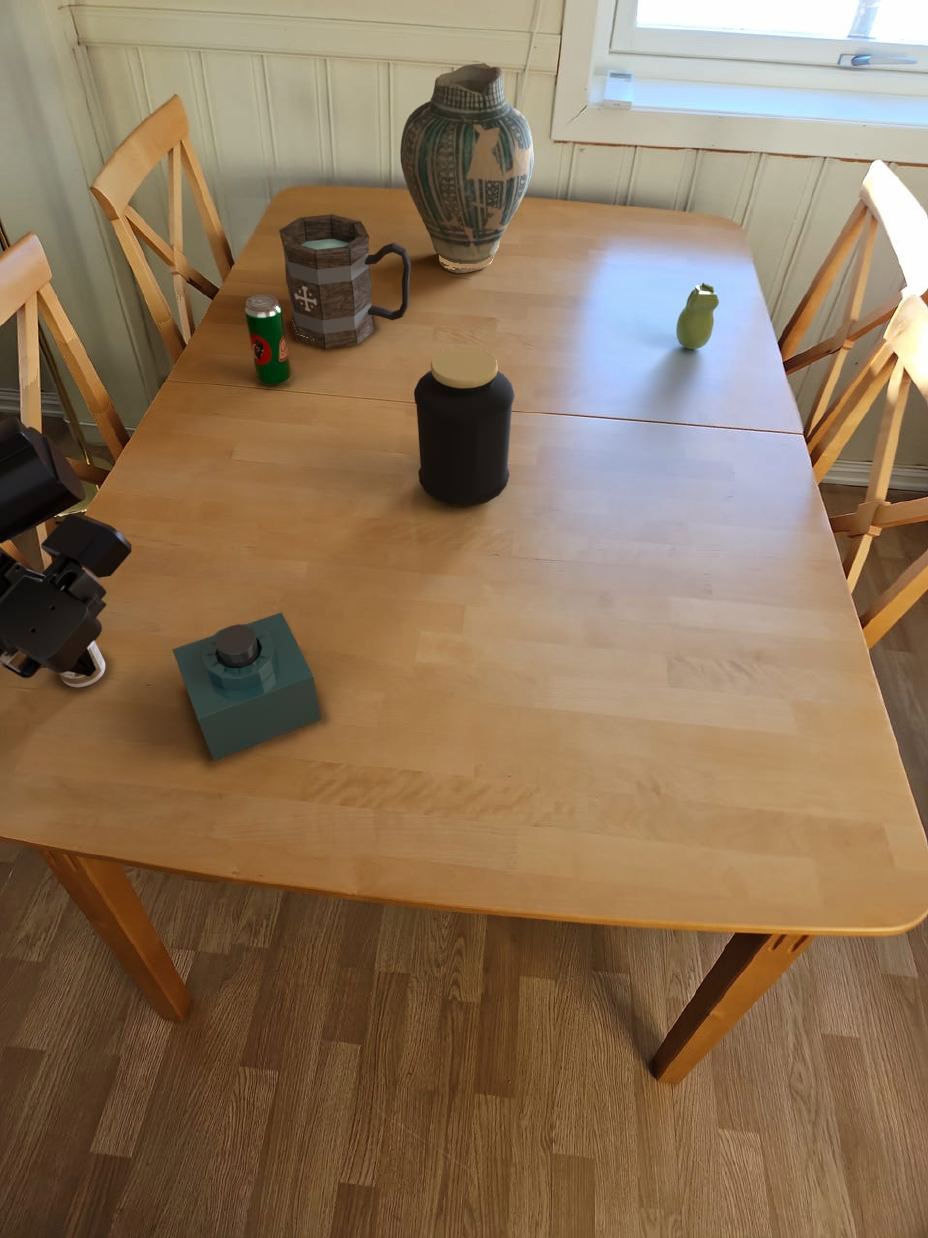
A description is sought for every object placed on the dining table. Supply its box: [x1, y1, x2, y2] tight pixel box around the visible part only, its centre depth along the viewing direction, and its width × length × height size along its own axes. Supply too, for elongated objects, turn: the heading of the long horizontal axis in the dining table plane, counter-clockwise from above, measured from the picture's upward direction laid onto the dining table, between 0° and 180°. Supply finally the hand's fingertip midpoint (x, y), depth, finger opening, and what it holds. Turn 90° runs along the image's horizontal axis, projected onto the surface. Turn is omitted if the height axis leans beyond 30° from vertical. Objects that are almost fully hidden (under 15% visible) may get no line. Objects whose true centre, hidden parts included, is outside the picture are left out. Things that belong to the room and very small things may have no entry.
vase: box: [399, 62, 535, 274], centre depth 138 cm, size 22×22×30 cm
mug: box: [278, 213, 412, 350], centre depth 127 cm, size 20×14×15 cm
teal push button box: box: [172, 611, 322, 762], centre depth 80 cm, size 11×9×9 cm
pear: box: [675, 282, 720, 350], centre depth 128 cm, size 6×5×10 cm
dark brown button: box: [216, 624, 259, 668], centre depth 76 cm, size 4×4×2 cm
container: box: [413, 345, 515, 508], centre depth 100 cm, size 12×12×18 cm
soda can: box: [244, 294, 292, 387], centre depth 118 cm, size 5×5×12 cm
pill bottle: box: [58, 640, 106, 688], centre depth 83 cm, size 4×4×8 cm
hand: (90, 671), depth 70 cm, fingers closed
